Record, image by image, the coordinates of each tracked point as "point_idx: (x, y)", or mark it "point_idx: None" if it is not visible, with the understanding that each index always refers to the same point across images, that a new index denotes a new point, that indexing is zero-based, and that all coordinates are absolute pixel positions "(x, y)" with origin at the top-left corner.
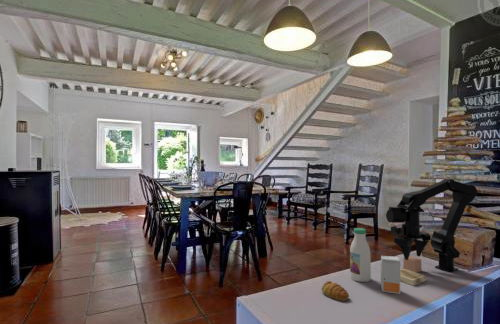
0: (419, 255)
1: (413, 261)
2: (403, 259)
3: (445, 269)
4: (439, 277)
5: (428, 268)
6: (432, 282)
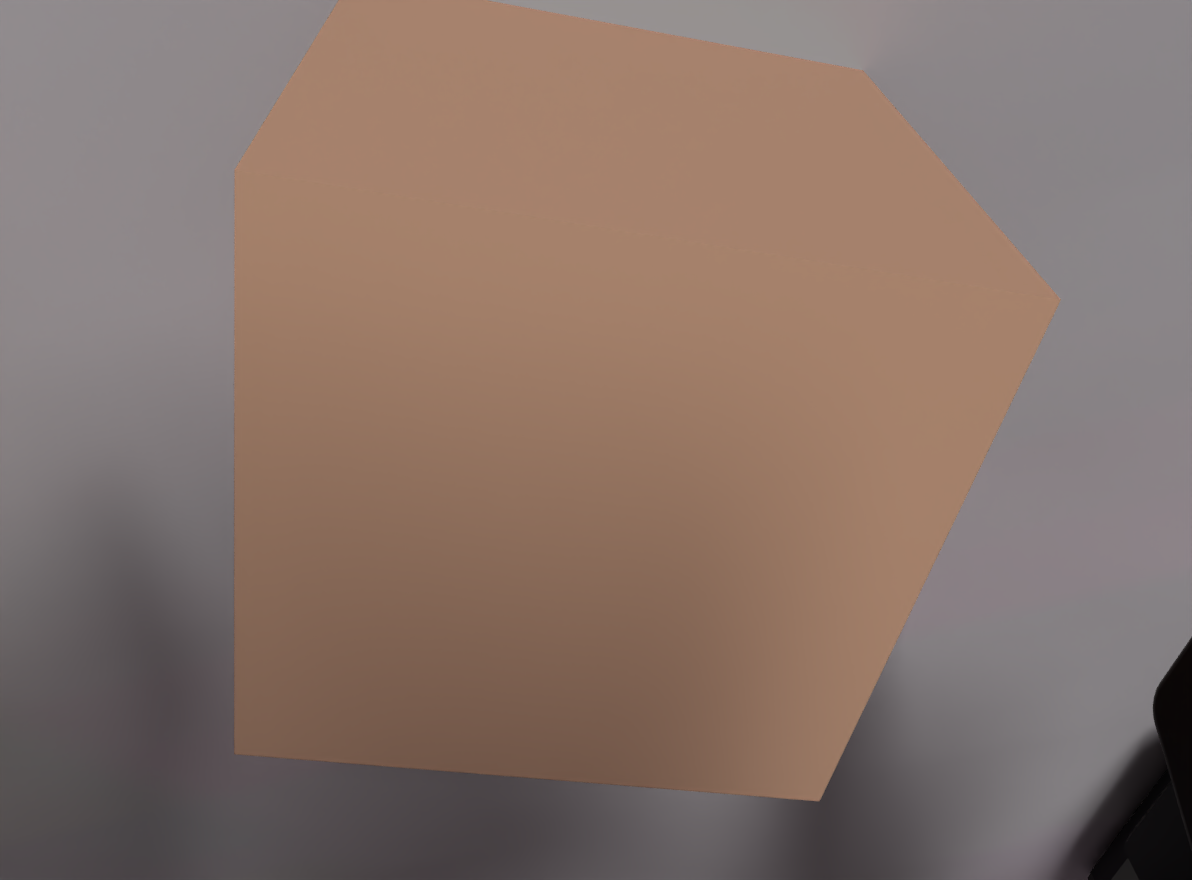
0: (1170, 752)
1: (237, 677)
2: (256, 136)
3: (1124, 849)
4: (516, 842)
5: (1105, 529)
6: (26, 852)
